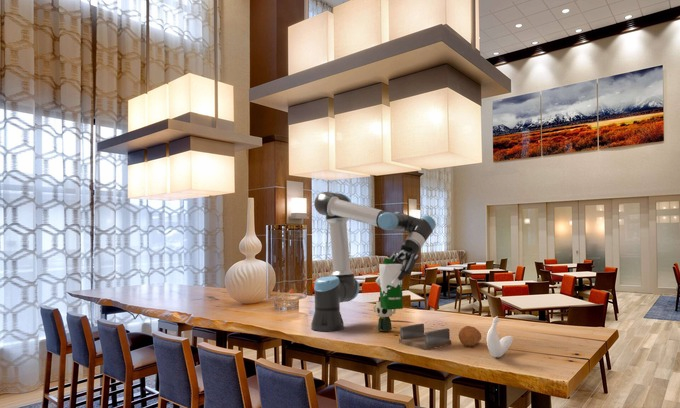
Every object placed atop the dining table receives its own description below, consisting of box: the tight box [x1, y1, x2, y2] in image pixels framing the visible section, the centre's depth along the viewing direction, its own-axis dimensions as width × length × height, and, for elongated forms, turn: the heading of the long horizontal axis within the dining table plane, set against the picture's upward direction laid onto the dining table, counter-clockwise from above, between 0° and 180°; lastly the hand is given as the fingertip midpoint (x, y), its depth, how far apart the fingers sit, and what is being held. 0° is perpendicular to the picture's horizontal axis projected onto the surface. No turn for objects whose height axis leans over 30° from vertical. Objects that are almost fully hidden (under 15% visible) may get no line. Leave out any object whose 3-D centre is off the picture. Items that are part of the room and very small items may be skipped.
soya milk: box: [378, 258, 404, 310], centre depth 179 cm, size 9×9×20 cm
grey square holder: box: [398, 323, 452, 351], centre depth 168 cm, size 14×14×6 cm
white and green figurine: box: [372, 300, 397, 332], centre depth 193 cm, size 11×7×13 cm, turn 58°
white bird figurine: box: [486, 315, 514, 358], centre depth 148 cm, size 5×19×15 cm, turn 146°
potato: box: [458, 325, 483, 348], centre depth 165 cm, size 7×13×7 cm, turn 142°
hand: (385, 284), depth 177 cm, fingers closed on soya milk, 9 cm apart
